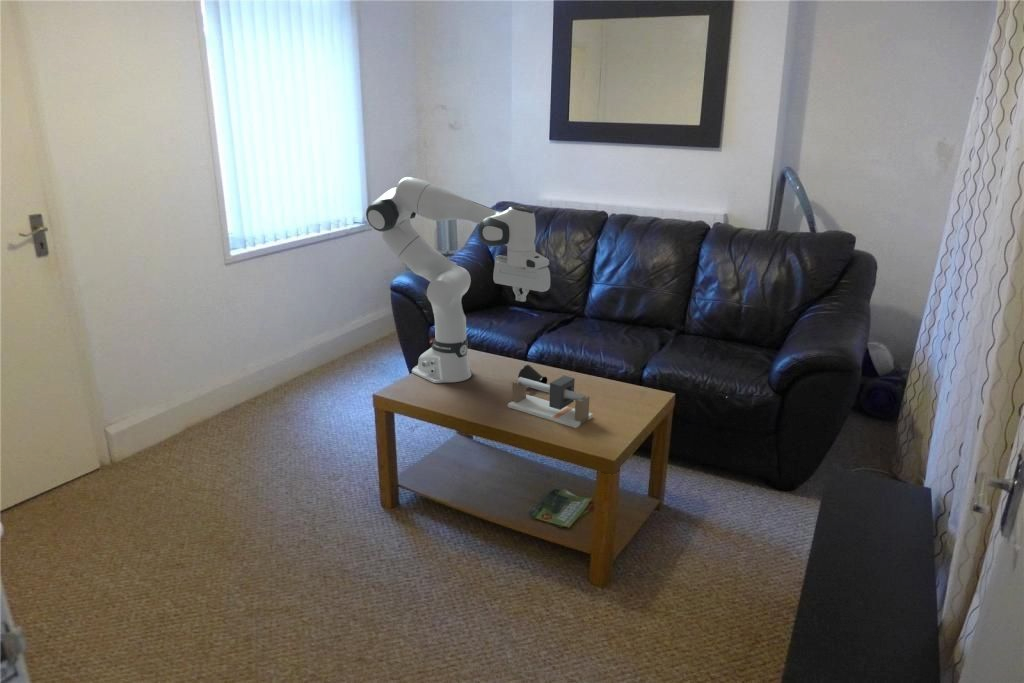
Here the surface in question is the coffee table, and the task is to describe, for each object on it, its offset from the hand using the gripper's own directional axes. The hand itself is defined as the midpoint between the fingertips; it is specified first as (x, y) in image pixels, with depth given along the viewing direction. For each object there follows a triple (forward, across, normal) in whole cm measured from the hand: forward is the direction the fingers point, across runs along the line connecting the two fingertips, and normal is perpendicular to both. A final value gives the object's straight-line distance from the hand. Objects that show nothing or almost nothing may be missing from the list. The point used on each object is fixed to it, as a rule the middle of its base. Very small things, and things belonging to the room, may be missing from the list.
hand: (520, 300), depth 226 cm
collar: (+30, +18, -3) cm, 35 cm away
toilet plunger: (+35, -3, +7) cm, 35 cm away
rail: (+34, +14, -3) cm, 37 cm away
